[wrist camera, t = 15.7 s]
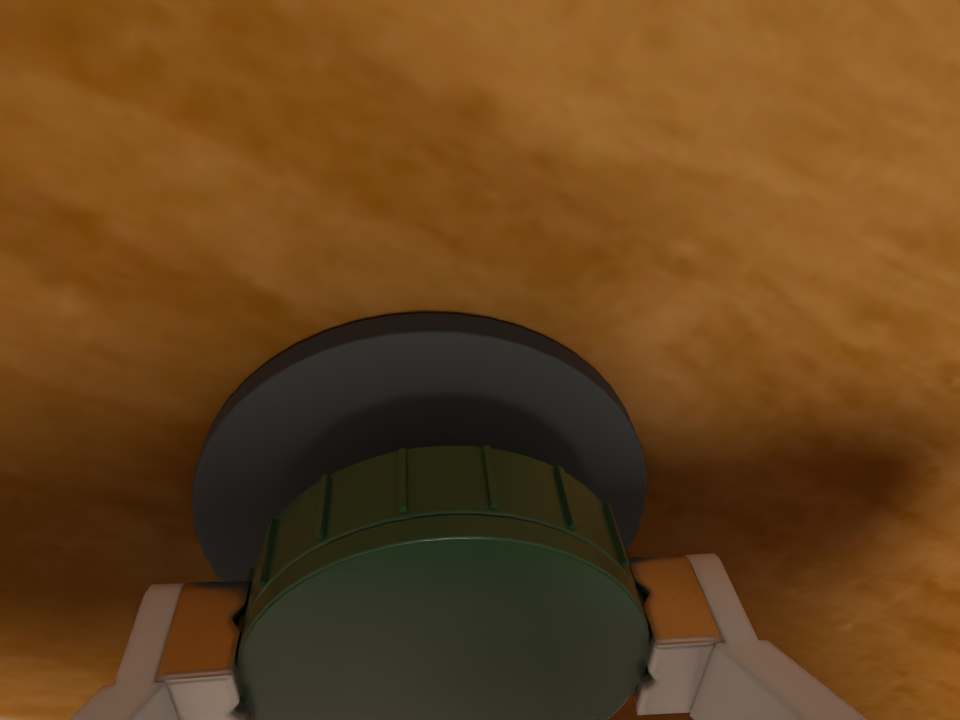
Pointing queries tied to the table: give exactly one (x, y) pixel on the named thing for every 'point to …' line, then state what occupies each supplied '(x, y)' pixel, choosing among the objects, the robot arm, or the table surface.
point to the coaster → (406, 420)
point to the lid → (442, 595)
